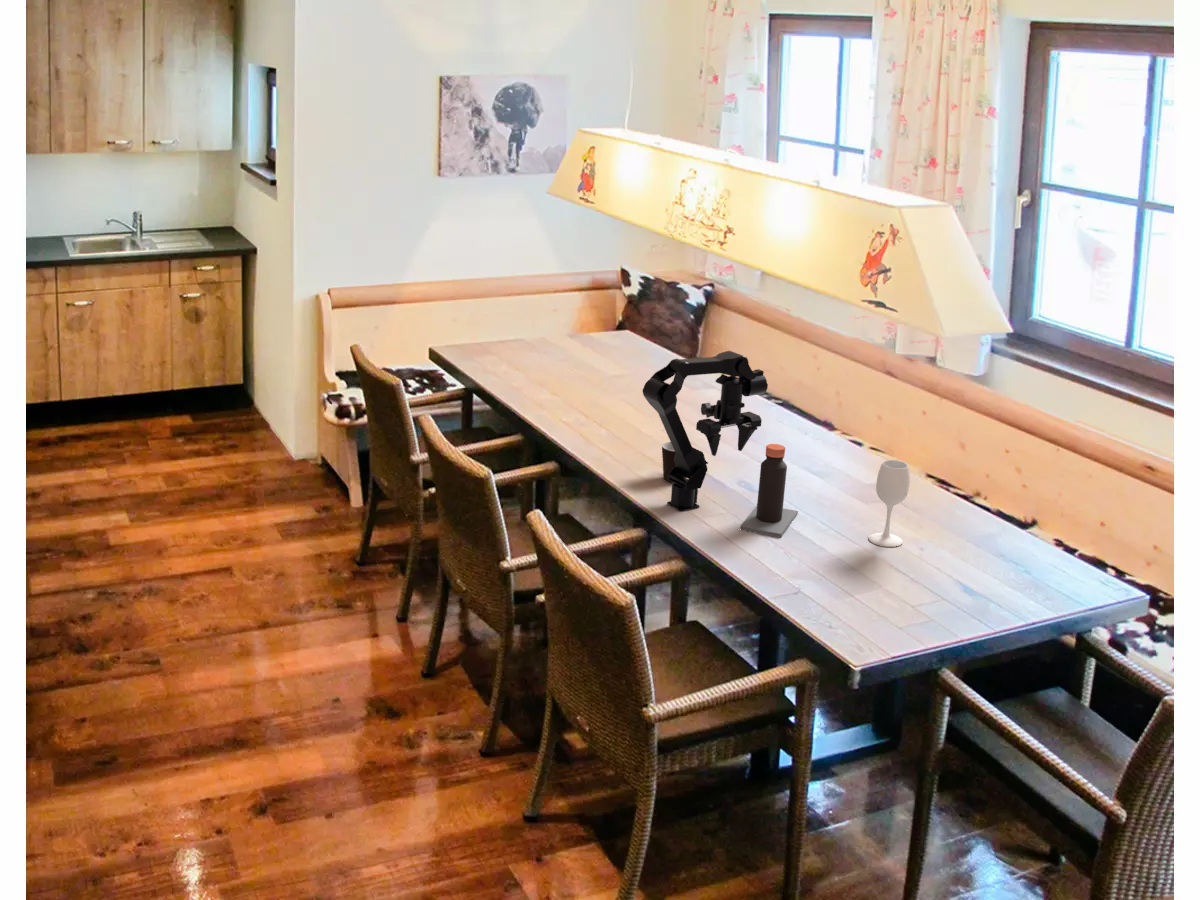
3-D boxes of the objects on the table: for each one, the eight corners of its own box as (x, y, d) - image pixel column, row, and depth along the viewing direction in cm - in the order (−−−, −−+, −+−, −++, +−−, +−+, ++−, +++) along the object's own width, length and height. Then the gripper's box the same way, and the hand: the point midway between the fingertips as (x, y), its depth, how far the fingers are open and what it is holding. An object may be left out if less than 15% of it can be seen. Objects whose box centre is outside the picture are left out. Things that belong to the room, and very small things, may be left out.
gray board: (739, 529, 337) (740, 526, 337) (758, 507, 353) (758, 503, 353) (781, 537, 334) (781, 534, 333) (797, 514, 350) (797, 511, 349)
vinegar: (754, 520, 341) (760, 449, 334) (758, 512, 347) (764, 441, 341) (779, 524, 339) (787, 452, 333) (783, 515, 346) (790, 444, 339)
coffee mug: (678, 487, 365) (681, 453, 362) (653, 479, 370) (655, 446, 367) (701, 477, 374) (703, 444, 371) (676, 469, 379) (678, 437, 376)
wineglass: (867, 544, 332) (877, 467, 325) (869, 532, 340) (878, 456, 333) (902, 549, 330) (912, 471, 323) (903, 536, 338) (913, 460, 331)
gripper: (738, 386, 361) (734, 439, 366) (685, 394, 351) (681, 449, 356) (765, 397, 353) (760, 451, 358) (711, 405, 342) (707, 461, 347)
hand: (726, 453), depth 355 cm, fingers open, 9 cm apart
